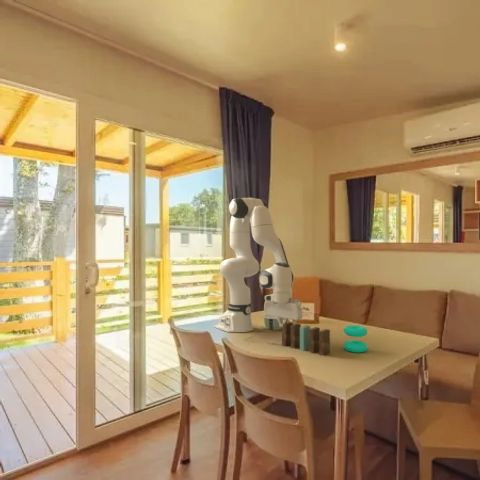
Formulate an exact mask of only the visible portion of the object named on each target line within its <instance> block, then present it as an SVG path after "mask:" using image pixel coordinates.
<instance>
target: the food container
mask: <svg viewBox="0 0 480 480" xmlns="http://www.w3.org/2000/svg"><path fill="white" fill-rule="evenodd" d="M262 318H263V320H264V321H263V322H264V329H266V330H271V331H276V330H277V331H278V330H283V327H280V326H279V322H278V320H277V317H275V316H269V315H265V314H263V315H262ZM282 322H283V323H284V320H283V318H282Z"/></svg>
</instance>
